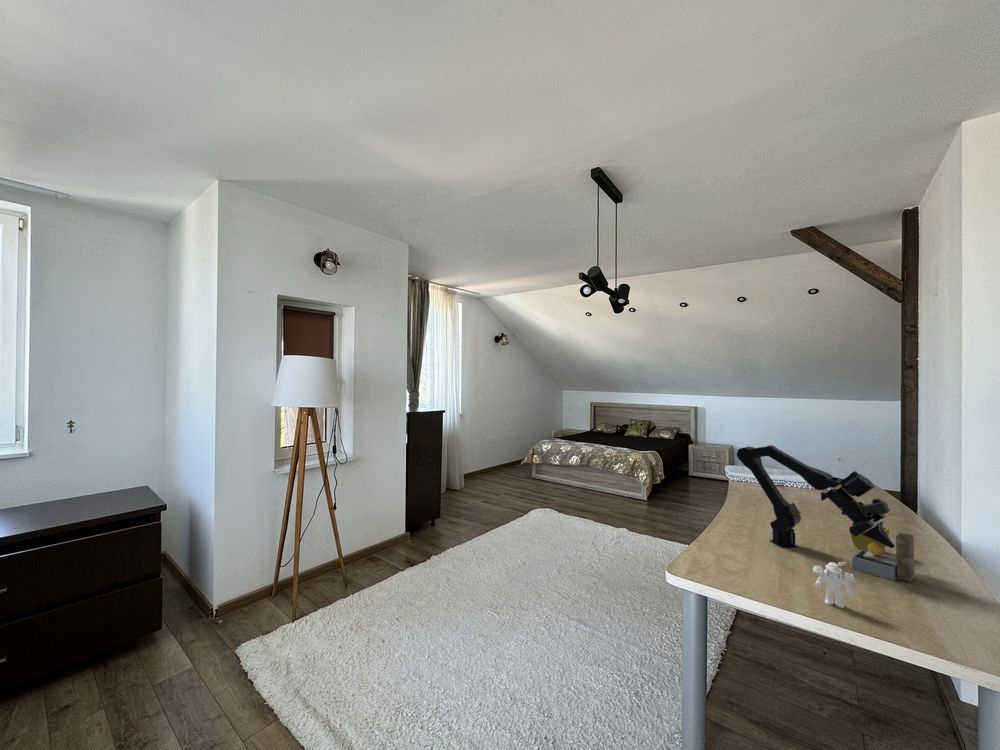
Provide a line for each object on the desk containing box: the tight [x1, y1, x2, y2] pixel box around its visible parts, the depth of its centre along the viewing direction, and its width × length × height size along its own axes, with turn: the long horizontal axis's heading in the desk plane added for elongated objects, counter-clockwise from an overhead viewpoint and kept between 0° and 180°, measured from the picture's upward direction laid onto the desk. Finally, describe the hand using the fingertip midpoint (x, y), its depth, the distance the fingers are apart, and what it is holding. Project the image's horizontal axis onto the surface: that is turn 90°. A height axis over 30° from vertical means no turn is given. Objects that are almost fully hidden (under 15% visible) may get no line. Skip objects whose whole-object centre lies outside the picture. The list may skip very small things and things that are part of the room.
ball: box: [868, 543, 886, 556], centre depth 130 cm, size 4×4×4 cm
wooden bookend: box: [863, 532, 916, 583], centre depth 127 cm, size 11×6×13 cm, turn 36°
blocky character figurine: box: [812, 561, 856, 609], centre depth 110 cm, size 9×4×12 cm, turn 48°
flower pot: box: [848, 524, 890, 551], centre depth 145 cm, size 9×9×9 cm
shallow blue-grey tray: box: [851, 549, 898, 581], centre depth 130 cm, size 10×10×4 cm
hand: (893, 547), depth 126 cm, fingers closed
